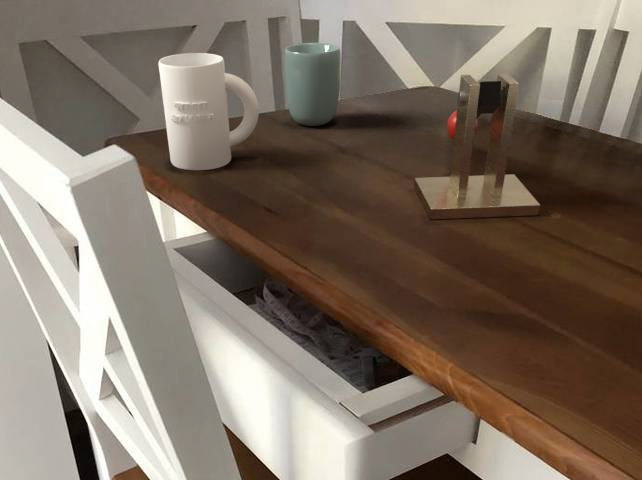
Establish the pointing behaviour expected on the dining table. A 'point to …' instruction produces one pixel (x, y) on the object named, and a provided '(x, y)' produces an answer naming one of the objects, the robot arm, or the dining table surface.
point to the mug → (202, 110)
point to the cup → (312, 82)
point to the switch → (481, 103)
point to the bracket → (494, 186)
